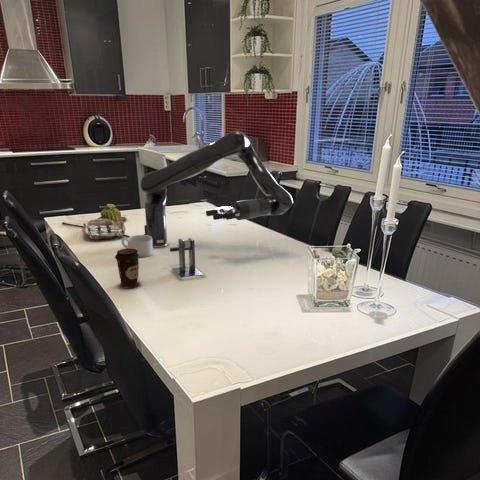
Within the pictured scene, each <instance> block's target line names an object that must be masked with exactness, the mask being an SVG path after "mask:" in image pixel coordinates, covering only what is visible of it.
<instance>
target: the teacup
mask: <svg viewBox="0 0 480 480" xmlns="http://www.w3.org/2000/svg"><path fill="white" fill-rule="evenodd" d="M120 241H121V245H122V246H123V247H124V249H127V248H129V249H136V250H137V251H138V252H137V253H138V254H139V257H138V259H140V258H141V259H143V258H146V257H149V256H150V254H152V252H153V250H154V249H153V248H154V247H153V245H152V237H151V236H148V235H144V234H136V235H135V234H134V235H131V237H129V238H128V237H125V236H124V237H122V239H121V240H120ZM125 241H126V242H127V244H126V243H125Z"/></svg>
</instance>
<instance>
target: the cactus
mask: <svg viewBox="0 0 480 480" xmlns="http://www.w3.org/2000/svg"><path fill="white" fill-rule="evenodd" d="M97 219H111V220H112V221H114V222H116V223H117V222H119V221H123V222H125V221H126V220H127V217H126V216H122V213H121V211H120V210H119V208H116V205H115V204H113V203H107V204H106V207H104V208H103V209H102V210H101V211H100V216H99V217H98V218H97Z"/></svg>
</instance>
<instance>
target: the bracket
mask: <svg viewBox="0 0 480 480" xmlns="http://www.w3.org/2000/svg"><path fill="white" fill-rule="evenodd" d="M187 240H190V245H191V246H190V247H189V250H188V266H186V253H185V252H186V250H185V247H184V241H185V240H183V239H182V238H178V247H179V251H178V261H179V262H178V265H179V266H178V267H172V270H173V271H174V273H176V274H177V275H178V277H180V279H181V278H188V277H196V276H204V274H203V272H202V271H200V270H199V269H198V268H197V267H196V252H195V251H196V250H195V247H196V245H195V244H196V243H195V239H194V238H192V237H188V238H187Z"/></svg>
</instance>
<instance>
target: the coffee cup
mask: <svg viewBox="0 0 480 480" xmlns="http://www.w3.org/2000/svg"><path fill="white" fill-rule="evenodd" d="M137 252H138V251H137V250H136V249H129V248H121V249H118V250H117V251H116V254H115V255H114V258H115V260H116V263H117V270H118V275H119V279H120V287H121V288H125V289H131V288H132V289H133V288H136V287H138V286H139V282H138V280H139V274H140V273H139V271H140V270H139V268H140V267H139V266H140V265H139V263H140V262H139V258H138V257H139V254H138V253H137Z"/></svg>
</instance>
